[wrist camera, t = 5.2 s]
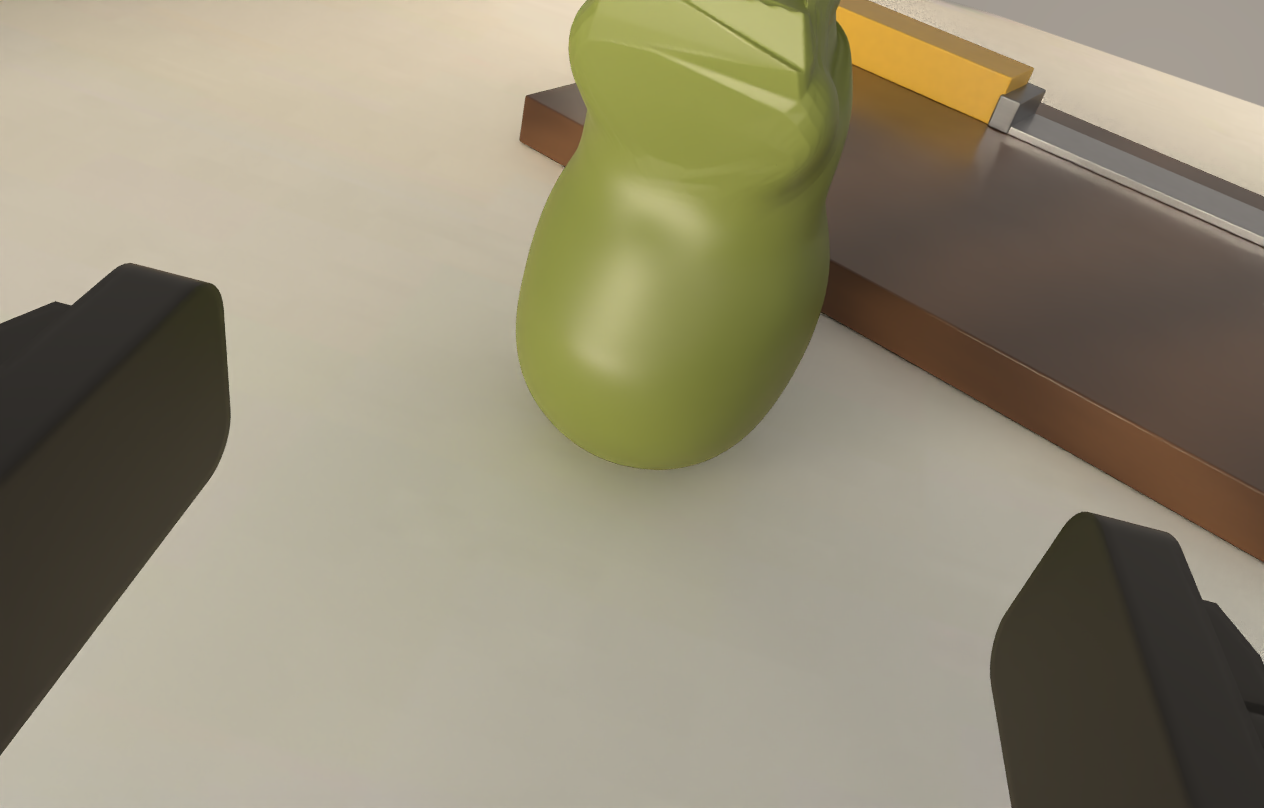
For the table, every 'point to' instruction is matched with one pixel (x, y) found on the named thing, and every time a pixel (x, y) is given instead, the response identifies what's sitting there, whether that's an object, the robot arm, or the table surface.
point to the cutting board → (1043, 292)
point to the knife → (1017, 107)
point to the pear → (686, 224)
